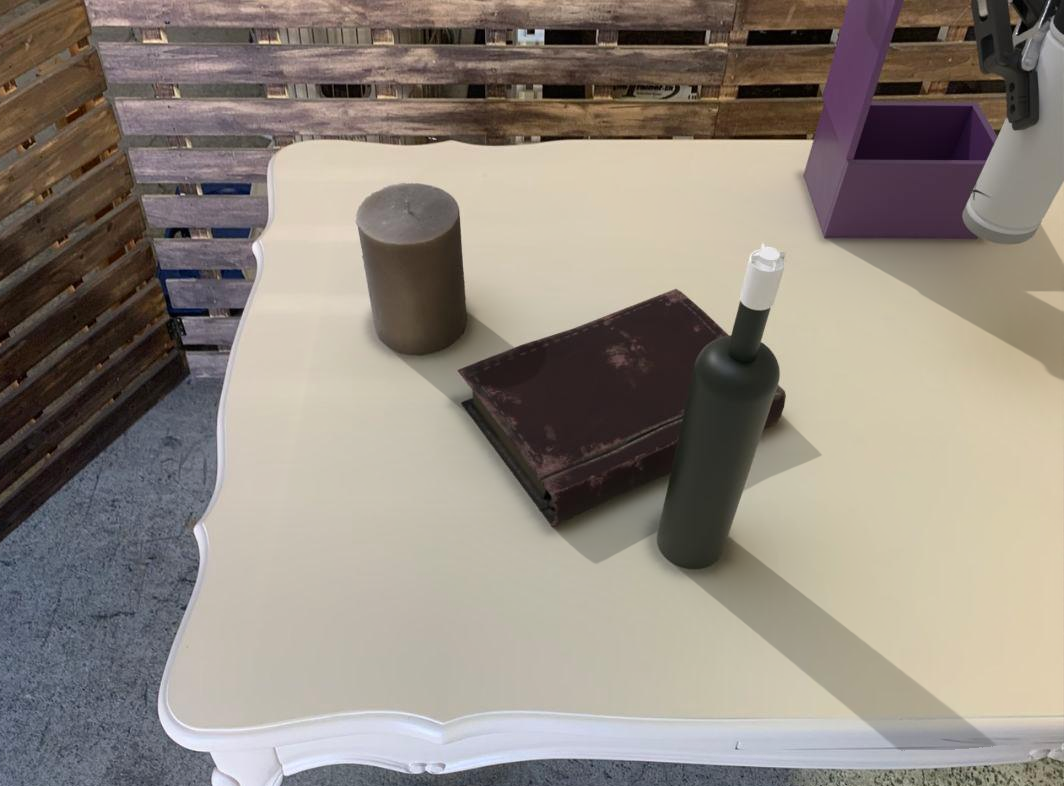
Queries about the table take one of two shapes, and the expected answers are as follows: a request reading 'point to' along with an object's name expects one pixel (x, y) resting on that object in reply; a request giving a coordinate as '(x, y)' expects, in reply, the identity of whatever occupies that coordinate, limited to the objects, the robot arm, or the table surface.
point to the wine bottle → (722, 424)
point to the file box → (900, 171)
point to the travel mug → (1025, 158)
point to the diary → (594, 402)
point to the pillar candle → (414, 267)
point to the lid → (858, 66)
